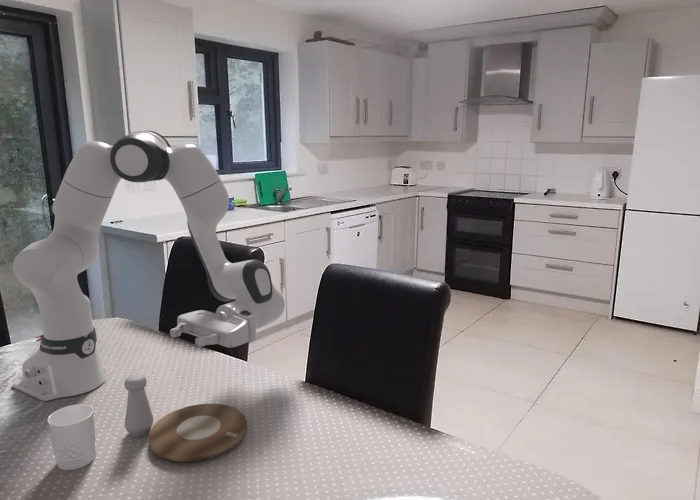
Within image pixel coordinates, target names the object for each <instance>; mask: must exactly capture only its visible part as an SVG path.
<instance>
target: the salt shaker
mask: <svg viewBox="0 0 700 500" xmlns="http://www.w3.org/2000/svg"><path fill="white" fill-rule="evenodd" d="M147 382H148V381H147V378H146V376H145V375H144V374H140V373H135V374H132V375H129V376H128V377H126V378H125V380H124V385H123V386H124V388H125V390H126V391H128V392H127V393H128V394H127V402H126V409H125V418H124V428H125V430H126V431H127V433H128V434H129V436H130V437H131V438H133V437H134V438H141V437H144V436H147V435H149V433H150V430H151V428H152V427H153V426H154V425H153V424H154V419H155V418H154V415H153V412H152V407H151V404H150V402H149V399H148V396H147V395H148V394H147V392H146V389H145V387H147Z"/></svg>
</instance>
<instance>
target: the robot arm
mask: <svg viewBox="0 0 700 500" xmlns="http://www.w3.org/2000/svg"><path fill="white" fill-rule="evenodd" d="M71 159H72V160H71V161H70V163H69V165H68V167H67V168H66V171H65V173H64V175H63V178H62V181H61V184H60V185H59V189H58V191H57V193H56V195H55V199H54V201H53V203H52V209H51V210H52V213H53V214H54V224H53V229H52V231H51V232H50V234H49V235H48V236H47V237H46V238H43V239H40V240H37V241H35V242H32V243H30V244H29V245H27V246H25V248H23V249H22V250H21V251H20V252H19V253H18V254H17V255H16V256H15V257H14V260H13V263H12V269H13V274H14V276H15V278H16V279H17V281H19V283H20V284H21V285H23V286H24V287H26V288H28V289H29V290H30V291H31V293H32V295H33V296H34V297H33V298H34V299H35V301H36V303H37V307H38V309H39V315H40V320H41V327H42V335H39V336H36V337H35V341H36V342H40V344H39V347H38V349H37V350H36V351H35V352H33V353H32V354H31V355H30V356H28V357H27V358H26V359H25V360H24V361H23V363H22V367H21V369H22V371H21V372H22V373H21V374H22V375H21V376H19V377H18V378H16V379H15V380H14V381H13V382H12V388H13V389H14V388H15V389H16V390H18V391H20V392H22V393H24V394H27V395H29V396H31V397H34V398H36V399H38V400H40V401H42V402H47V401H52V400H55V399H56V400H57V399H59V398H67V397H74V396H78V395H83V394H85V393H88V392H90V391H93V390H95V389H97V388H98V387H100V386H101V385H102V384H104V382H105V381H106V380H107V376H106V373H105V372H106V366H105V364H103V361H102V357H101V353H100V350H99V349H100V347H99V345H98V343H97V341H98V340H97V339H98V338H97V332H96V328H95V327H94V321H93V314H92V313H93V311H92V305H91V300H90V298H89V297H88V296H87V295H85V294H84V293H83V291H82V289H81V286H80V284H79V281H78V275H79V274H80V273H82V272H84V271H86V270H88V269H89V268H90V267H91V266H92V265H93V264H94V262H95V261H96V260H97V259H98V257H99V254H100V245H99V238H100V232H101V227H102V223H103V221H104V219H105V216H106V214H107V212H108V209H109V207H110V204H111V201H112V199H113V196H114V194H115V192H116V188H117V187H118V185H119V182H120V181H121V180H125V181H128V182H131V183H147V182H156V181H161V180H166V181H167V182H168V183H169V184H170V186H171V187H172V188H173V190H174V192H175V193H176V196H177V197H178V200H179V202H180V203H181V205H182V207H183V210H184V212H185V215H186V219H187V221H186V224H187V228H188V233H189V235H190V237H191V239H192V242H193V244H194V246H195V249H196V252H197V254H198V256H199V258H200V262H201V263H202V265H203V268H204V271H205V274H206V281H207V285H208V289H209V291H210V292H211V295H212V296H214V298H215V299H217V300H218V301H221V302H228V303H225V304H224V303H223V305H222V304H221V305H219V307H217V309H216V310H215V312H212V311H208V310H204V309H200V310H195V311H194V310H193V311H191V312H186V313H183V314H180V315H178V316H177V319H176V322H177V323H176V324H177V325H176V326H175V327H174V328H171V329H170V330H169V334H170V336H171V337H173V338H177V337H181V334H183V333H185V334H189V335H192V336H195V339H194V343H195V346H197V347H199V348H202V347H204V346H210V345H220V346H223V347H225V348H236V347H239V346H241V345H244V344H246V343H248V342H250V343H251V342H254V341H256V339H257V330H258V329H261V328H264V327H266V326H268V325H270V324H272V323H274V322H275V321H277V320H278V319H279V318H280V317H281V316H282V315H283V313H284V311H285V306H286V304H285V298H284V296H283V294H282V293H281V292H280V291H279V290H278V289H276V287H275V286H274V284H273V282H272V277H271V272H270V270H269V268H268V267H267V266H266V264H265V263H264V262H263V261H261V260H259V259H250V260H249V259H248V260H243V261H238V262H233V263H232V262H230V261H229V260H228V259H227V257H226V256H225V253H224V250H223V249H222V246H221V243H220V241H219V238H218V235H217V227H218V224H219V223H220V222H221V220H223V218H224V217H225V216H226V214H227V212H228V210H229V206H230V197H229V194H228V191H227V188H226V186H225V184H224V183H223V181H222V179H221V176H220V175H219V174H218V173H219V172H218V171H217V169H216V168H215V166H214V165H213V164H212V162H211V161H210V159H209V158H208V157H207V155H206V154H205V153H204V151H203V150H202V149H201V148H200V147H199V146H197V145H195V144H192V143H191V144H190V143H187V144H185V143H184V144H181V145H177V146H175V147H171V145H170V143H169V141H168V140H167V139H166V138H165V136H163V135H161V134H160V133H158V132H156V131H153V130H140V131H133V132H131V133H129V134H127V135H124V136H122V137H120V138H118V140H116V141H115V142H114V144H113V145H111V144H108V143H106V142H102V141H98V140H93V141H92V140H91V141H86V142H84V143H83V144H82V145H81V146H80V147H79V149H78V150H77V151H76V153H75V154H74V155H73V158H71ZM36 339H37V340H36Z"/></svg>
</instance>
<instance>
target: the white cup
mask: <svg viewBox="0 0 700 500" xmlns="http://www.w3.org/2000/svg"><path fill="white" fill-rule="evenodd" d="M94 410H95V409H94V407H93V406H91V405H89V404H87V403H86V404H85V403H79V404H70V405H67V406H64V407H61V408H59V409H57V410H54V411H53V412H52V413H51V414H50V415H48V418H47V420H46V421H47V426H48V430H49V435H50V442H51V445H52V449H53V454H54V457H55V461H56V465H57V467H58V469H60V470H63V471H75V470H79V469H82V468H85V466H88V465H90V464H91V463H92V462H93V461H94V460H95V458H96V452H97V451H96V429H95V428H96V426H95V413H94Z"/></svg>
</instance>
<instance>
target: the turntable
mask: <svg viewBox="0 0 700 500" xmlns="http://www.w3.org/2000/svg"><path fill="white" fill-rule="evenodd" d="M247 429H248V425H247V418H246V415H244V413H243V412H242V411H241V410H239V409H237V408H235V407H233V406H231V405H227V404H223V403H221V404H220V403H199V404H194V405H189V406H185V407H182V408H179V409H176V410H173V411H172V412H169V413H167V414H166V415H164V416H162V417H161V418H159V419H158V420H157V422H155V423H154V425H152V427H151V430H150V431H149V433H148V445H149V448H150V450H151V451H152V452H153V453H154V454H155V455H156V456H158V457H161V458H162V459H166V460H168V461H174V462H196V461H202V460H207V459H211V458H213V457H217V456H220V455H222V454H223V453H226V452H228V451H230V450H232V449H233V448H234V447H236V446H237V445H238V444H239V443H240V442H241V441H242V440H243V439H244V437H245V436H246V433H247Z"/></svg>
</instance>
